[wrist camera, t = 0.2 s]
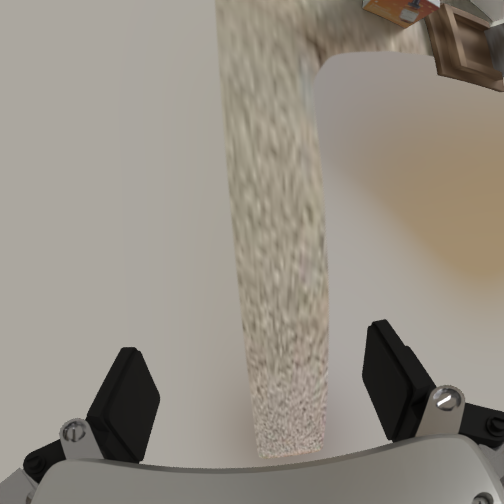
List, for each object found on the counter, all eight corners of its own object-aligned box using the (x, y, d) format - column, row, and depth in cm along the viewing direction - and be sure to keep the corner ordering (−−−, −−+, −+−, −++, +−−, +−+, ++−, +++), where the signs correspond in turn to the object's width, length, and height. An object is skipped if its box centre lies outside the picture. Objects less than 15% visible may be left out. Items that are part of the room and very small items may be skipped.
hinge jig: (418, 0, 28) (463, -30, 14) (483, 24, 27) (529, 9, 14) (437, 75, 33) (495, 60, 19) (499, 92, 32) (552, 89, 19)
